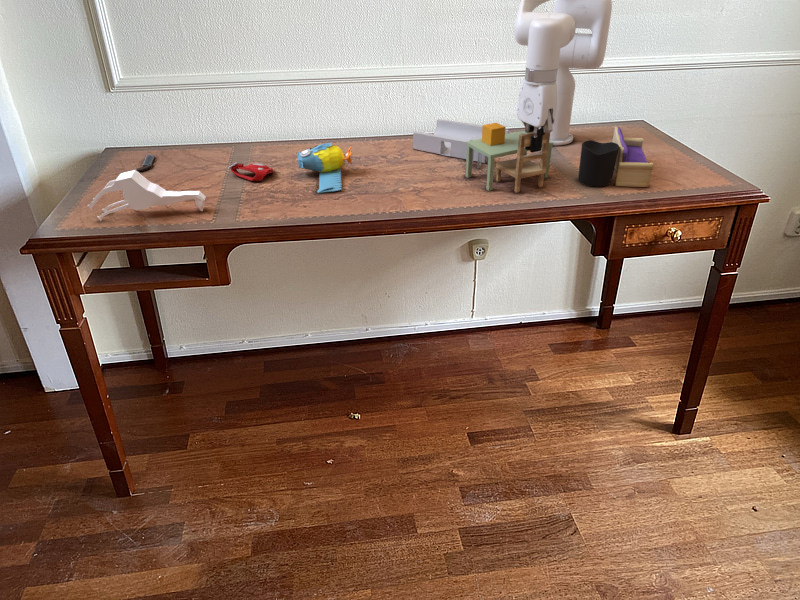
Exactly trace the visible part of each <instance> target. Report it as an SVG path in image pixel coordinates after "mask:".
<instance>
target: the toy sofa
mask: <svg viewBox="0 0 800 600" xmlns="http://www.w3.org/2000/svg"><path fill="white" fill-rule="evenodd" d="M611 142H613V143H616V144H618V145H619V150H618V155H617V159H616V164H615V168H614V169H615V172H616V177H615V182H614V183H615V184H614V186H615V187H634V188H648V187H649V186H650V181H651V176H652V172H653V171H652V170H653V168H654V163H653V162H648V160H647V157H646V154H645V152H644V150H643V143H644V138H642V137H624V135H623V131H622V128H621V127H620V126H614V130H613V137H612V139H611Z"/></svg>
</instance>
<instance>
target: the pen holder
mask: <svg viewBox="0 0 800 600" xmlns="http://www.w3.org/2000/svg"><path fill="white" fill-rule="evenodd" d="M618 150H619V145H618V144H616V143H613V142H612V141H610V142H609V141H608V142H598V141H596V140H593V139H588V140H584V141H582V142H581V149H580V157H579V167H578V178H577V179H578V181H579V182H580V183H581V184H582V185H585V186H586V187H594V188H601V187H602V188H603V187H606V186H608V185H610V184H612V180H613V176H614V172H615V169H616V168H615V164H616V159H617V155H618Z"/></svg>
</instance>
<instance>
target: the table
mask: <svg viewBox="0 0 800 600" xmlns="http://www.w3.org/2000/svg"><path fill="white" fill-rule="evenodd" d="M524 133H525V129H524V130H520V131H515V132H509V134H505V141H504V143H502V144H497V145H492V146H490V145H488V144H486V143H484V142H482V139H477V140H472V141H467V142H466V145H467V157H466V159H465V178H467V179H469V178H472V173H473V165H472V155H473V149H474V150H476V151H478V152H479V153H481V154H483V155H485V157H486V156H487V157H488V161H487V171H486V172H487V173H486V186H485V189H486V191H488V192H490V191H493V188H494V187H493V185H494V173H495V172H494V171H495V159H497V158H500V157H506V156H511V155H515V154H516V155H517V150H518V139H519V134H524ZM553 146H554V145H553V142H552V141H549V148H548V156H547V164H546V173H544V179H548V178H549V174H550V164H551V157H552V148H553ZM528 152H530V150H526V149H525V147H524V155H523V156H525V155H528V154H527V153H528Z"/></svg>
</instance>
